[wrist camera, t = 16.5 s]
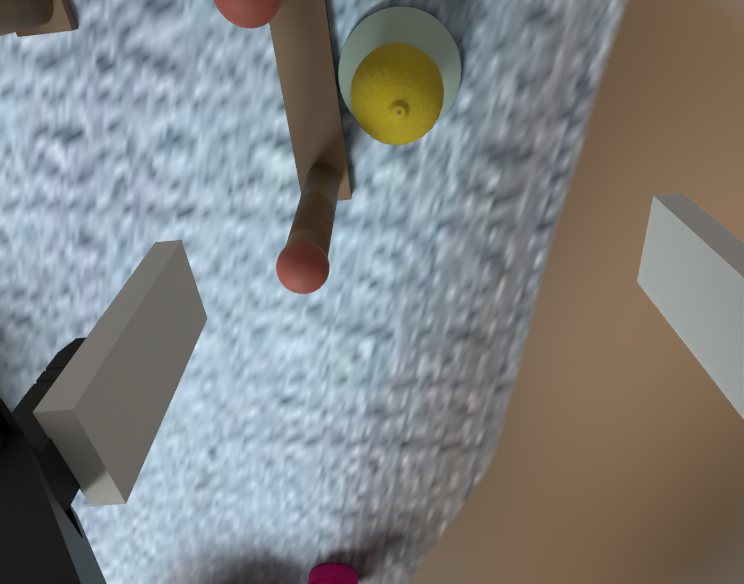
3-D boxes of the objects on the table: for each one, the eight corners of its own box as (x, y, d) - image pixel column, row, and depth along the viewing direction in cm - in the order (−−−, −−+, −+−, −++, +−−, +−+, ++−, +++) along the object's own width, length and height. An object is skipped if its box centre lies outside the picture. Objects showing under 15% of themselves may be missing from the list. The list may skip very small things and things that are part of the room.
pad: (347, 139, 38) (346, 142, 38) (330, 13, 34) (330, 14, 33) (460, 128, 38) (462, 130, 37) (459, -1, 33) (460, -1, 33)
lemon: (452, 94, 36) (468, 130, 29) (380, 136, 38) (380, 180, 31) (412, 14, 33) (419, 35, 27) (337, 63, 35) (326, 94, 28)
